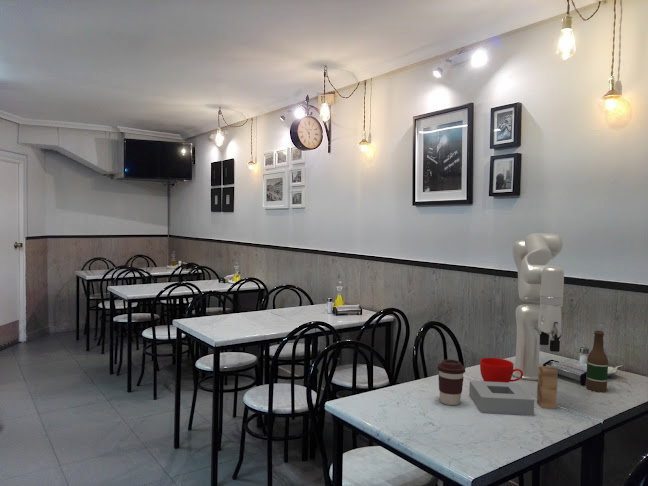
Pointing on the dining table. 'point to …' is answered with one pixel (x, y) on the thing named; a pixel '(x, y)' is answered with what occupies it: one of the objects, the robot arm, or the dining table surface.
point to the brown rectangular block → (547, 387)
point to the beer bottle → (597, 365)
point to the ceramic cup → (497, 370)
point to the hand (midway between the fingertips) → (549, 348)
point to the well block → (501, 398)
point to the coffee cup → (450, 381)
